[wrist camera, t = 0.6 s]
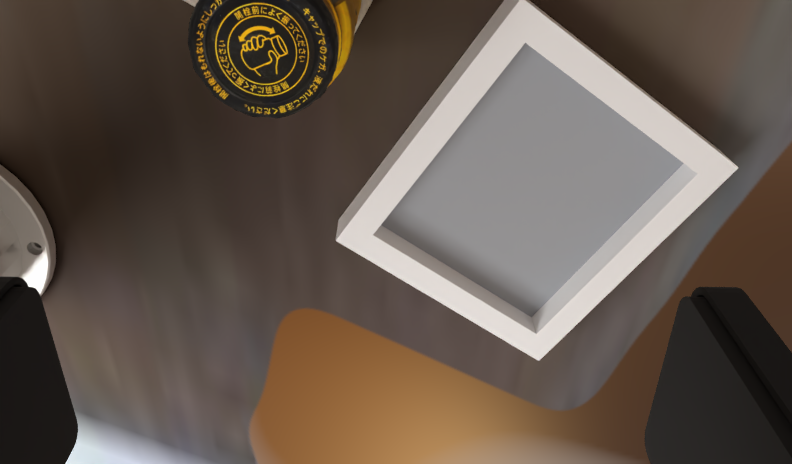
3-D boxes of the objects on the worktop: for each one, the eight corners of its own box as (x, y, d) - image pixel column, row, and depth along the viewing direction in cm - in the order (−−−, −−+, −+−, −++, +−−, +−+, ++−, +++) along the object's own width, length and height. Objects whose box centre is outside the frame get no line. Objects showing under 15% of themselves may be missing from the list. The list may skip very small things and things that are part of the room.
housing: (531, 335, 45) (538, 361, 43) (338, 219, 40) (335, 240, 38) (719, 149, 38) (738, 167, 36) (513, -13, 34) (521, -3, 32)
